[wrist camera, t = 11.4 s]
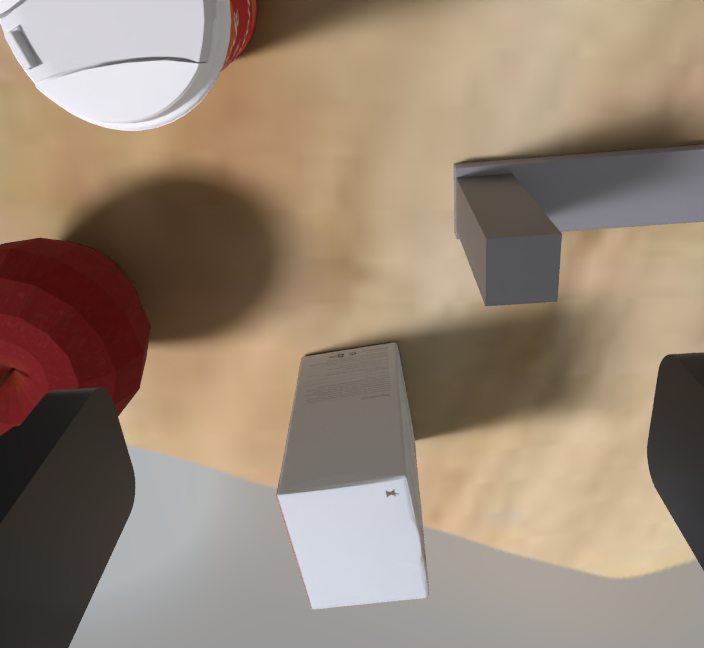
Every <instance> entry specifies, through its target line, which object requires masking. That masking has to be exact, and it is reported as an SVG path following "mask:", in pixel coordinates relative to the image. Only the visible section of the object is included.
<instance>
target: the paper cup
mask: <svg viewBox="0 0 704 648" xmlns="http://www.w3.org/2000/svg"><path fill="white" fill-rule="evenodd" d="M256 19H257V3H256V0H0V24H1V26H2V29H3V31H4V34H5V35H4V37H5V39H6V40H7V42H8V44H9V45H10V47H11V49H12V51H13V53H14V55H15V57H16V59H17V60H18V62H19V63H20V65H21V66H22V67H23V69H24V71H25V72H26V73H27V75H28V76H29V77H30V78H31V79H32V81H33V82H34V83H35V84H36V86H35V87H36V88H38V89H39V90H40V91H41V92H42V93H43V94H44V95H46V96H47V97H48V98H49V99H51V100H52V101H54V102H55V103H56V104H58V105H59V106H61V107H62V108H64V109H65V110H67V111H68V112H70V113H71V114H73V115H75V116H77V117H79V118H81V119H83V120H85V121H87V122H90V123H93V124H96V125H99V126H102V127H105V128H111V129H117V130H125V131H140V130H146V129H152V128H157V127H160V126H163V125H166V124H169V123H171V122H173V121H175V120H177V119H179V118H180V117H182V116H184V115H186V114H187V113H188V112H190V111H191V110H192V109H193V108H194V107H196V106H197V105H198V104H199V103H200V102H201V101H202V100H203V98H204V97H205V96H206V95H207V94H208V93H209V91H210V90H211V88H212V87H213V85H214V83H215V82H216V80H217V78H218V77H219V75H220V72H221V71H222V70H224V69H225V68H226V67H227V66H228V65H229V64H230V63H231V62H232V61H233V60H234V59H235V58H237V56H238V55H239V54H240V53H241V52H242V51H243V50H244V48H245V47H246V46H247V44H248V42H249V41H250V39H251V37H252V34H253V32H254V28H255V25H256Z"/></svg>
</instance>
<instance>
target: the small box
mask: <svg viewBox="0 0 704 648" xmlns="http://www.w3.org/2000/svg"><path fill="white" fill-rule="evenodd" d="M276 497H277V500H278V503H279V507H280V510H281V513H282V516H283V519H284V523H285V526H286V529H287V532H288V535H289V539H290V542H291V545H292V548H293V551H294V554H295V558H296V561H297V564H298V568H299V570H300V573H301V577H302V580H303V583H304V586H305V589H306V592H307V596H308V599H309V602H310V605H311V608H312V609H321V608H332V607H340V606H350V605H359V604H370V603H379V602H389V601H399V600H408V599H418V598H427V597H428V595H429V586H428V575H427V565H426V555H425V544H424V533H423V522H422V511H421V500H420V492H419V482H418V471H417V460H416V448H415V438H414V432H413V426H412V420H411V414H410V409H409V403H408V398H407V392H406V387H405V381H404V376H403V370H402V365H401V360H400V355H399V350H398V346H397V343H387V344H380V345H374V346H367V347H361V348H355V349H348V350H342V351H336V352H329V353H324V354H318V355H311V356H305V357H302V358H301V363H300V368H299V373H298V379H297V385H296V391H295V397H294V402H293V407H292V413H291V418H290V423H289V429H288V435H287V441H286V446H285V452H284V457H283V463H282V468H281V474H280V479H279V484H278V489H277V494H276Z"/></svg>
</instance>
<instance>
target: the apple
mask: <svg viewBox="0 0 704 648" xmlns="http://www.w3.org/2000/svg"><path fill="white" fill-rule="evenodd" d="M150 329H151V326H150V323H149V321H148V318H147V316H146V314H145V311H144V309H143V307H142V304H141V302H140V300H139V298H138V295H137V293H136V291H135V288H134V286H133V284H132V282H131V281H130V280H129V278H128V277H127V276H126V275H125V273H124V272H123V271H122V270H121V268H120V267H119V266H118V265H117V263H115V262H113V261H112V260H110V259H109V258H107V257H106V256H104V255H103V254H101V253H100V252H98V251H97V250H95V249H92V248H89V247H86V246H82V245H79V244H75V243H72V242H67V241H60V240H52V239H45V238H36V239H30V240H23V241H17V242H10V243H5V244H1V245H0V436H1V435H2V434H4V433H5V432H7V431H8V430H10V429H11V428H12V427H14V426H20V425H21V423H22V422H23V421H24V420H25V419H26V417H27V416H28V415H29V414H30V412H31V411H32V410H33V409H34V408H35V406H36V405H37V404H38V403H39V401H40V400H41V399H42V398H43V397H44V395H45V394H46V393H48V392H49V391H52V390H65V389H82V388H98V387H101V388H104V389H106V390H107V391H108V392H109V394H110V395H111V397H112V400H113V402H114V406H115V409H116V412H117V416H119V415H120V413H121V412H122V411H123V409H124V408H125V407H126V406H127V404H128V403H129V402H130V400H131V399H132V398H133V396H134V395H135V394H136V392H137V391H138V390H139V388H140V384H141V379H142V375H143V370H144V366H145V361H146V356H147V349H148V343H149V336H150Z"/></svg>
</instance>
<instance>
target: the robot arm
mask: <svg viewBox="0 0 704 648" xmlns="http://www.w3.org/2000/svg"><path fill="white" fill-rule="evenodd" d="M647 458H648V465H649V471H650V475H651V478H652V481H653V484H654V486H655V488H656V490H657V492H658V493H659V495H660V497H661V499H662V500H663V502H664V504H665V505H666V507H667V509H668V510H669V512H670V514H671V516H672V517H673V519H674V521H675V522H676V524H677V526H678V527H679V529H680V531H681V533H682V534H683V536H684V538H685V539H686V541H687V543H688V544H689V546H690V548H691V550H692V551H693V553H694V555H695V556H696V558H697V560H698V562H699V563H700V565H701V567H702V568H703V570H704V352H703V353H687V354H670V355H667V356H665V357H664V358H663V360H662V361H661V364H660V367H659V371H658V377H657V384H656V391H655V397H654V404H653V411H652V417H651V424H650V431H649V437H648V445H647ZM134 497H135V476H134V470H133V466H132V463H131V460H130V456H129V453H128V450H127V446H126V443H125V439H124V436H123V433H122V429H121V426H120V423H119V419H118V416H117V412H116V409H115V406H114V402H113V400H112V397H111V395H110V394H109V392H108V391H107V390H106V389H104V388H101V387H98V388H82V389H65V390H52V391H49V392H48V393H46V394H45V395H44V397H43V398H42V399H41V400H40V401H39V403H38V404H37V405H36V406H35V408H34V409H33V410H32V411H31V412H30V414H29V415H28V416H27V417H26V419H25V420H24V421H23V422H22V423H21V425H20V426H14V427H12V428H11V429H10V430H8V431H7V432H5V433H4V434H2V435H1V436H0V648H68V647H69V645H70V643H71V640H72V639H73V636H74V634H75V632H76V630H77V628H78V626H79V623H80V621H81V619H82V617H83V615H84V612H85V610H86V608H87V606H88V604H89V602H90V600H91V597H92V595H93V593H94V591H95V589H96V587H97V584H98V582H99V580H100V578H101V576H102V574H103V572H104V569H105V567H106V565H107V563H108V561H109V559H110V556H111V554H112V552H113V550H114V548H115V546H116V543H117V541H118V539H119V537H120V535H121V532H122V530H123V528H124V526H125V524H126V522H127V520H128V517H129V515H130V513H131V510H132V507H133V503H134Z"/></svg>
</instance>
